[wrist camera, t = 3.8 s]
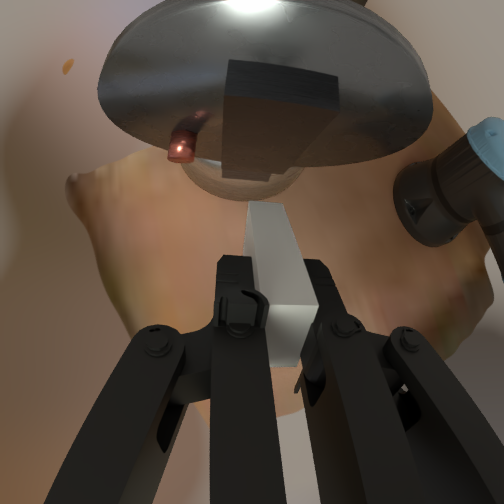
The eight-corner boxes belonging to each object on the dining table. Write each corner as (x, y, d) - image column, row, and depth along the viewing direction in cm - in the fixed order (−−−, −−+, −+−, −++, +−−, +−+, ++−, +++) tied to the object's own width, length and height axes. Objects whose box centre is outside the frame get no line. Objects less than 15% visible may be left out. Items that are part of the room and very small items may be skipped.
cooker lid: (499, 73, 8) (516, 133, 8) (347, 164, 29) (347, 196, 29) (47, 0, 6) (13, 62, 6) (145, 145, 27) (140, 178, 27)
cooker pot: (316, 105, 46) (339, 59, 34) (324, 218, 41) (361, 184, 30) (173, 91, 43) (167, 39, 32) (148, 205, 39) (126, 163, 27)
